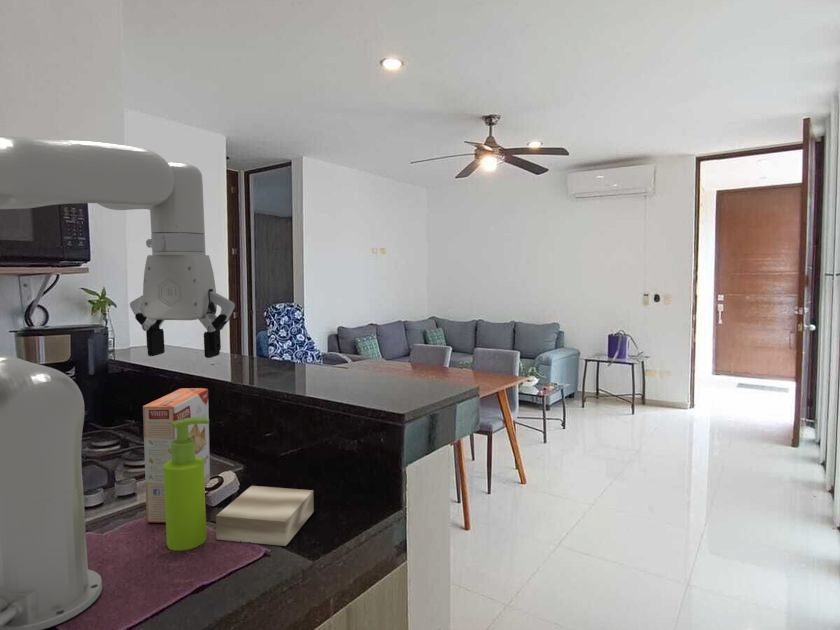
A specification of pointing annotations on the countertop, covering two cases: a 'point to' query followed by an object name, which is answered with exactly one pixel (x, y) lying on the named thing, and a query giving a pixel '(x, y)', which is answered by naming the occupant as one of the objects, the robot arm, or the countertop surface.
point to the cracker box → (163, 434)
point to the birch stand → (265, 515)
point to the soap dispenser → (185, 491)
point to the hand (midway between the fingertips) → (184, 355)
